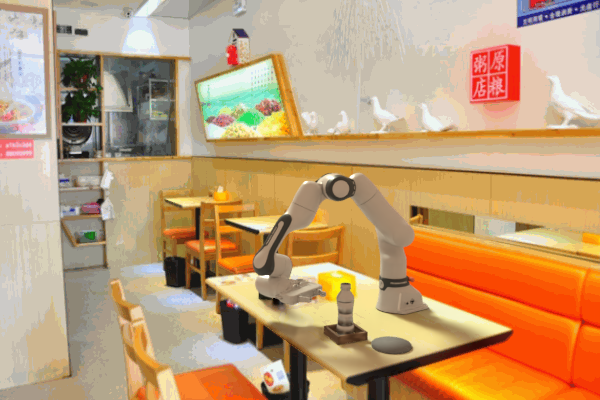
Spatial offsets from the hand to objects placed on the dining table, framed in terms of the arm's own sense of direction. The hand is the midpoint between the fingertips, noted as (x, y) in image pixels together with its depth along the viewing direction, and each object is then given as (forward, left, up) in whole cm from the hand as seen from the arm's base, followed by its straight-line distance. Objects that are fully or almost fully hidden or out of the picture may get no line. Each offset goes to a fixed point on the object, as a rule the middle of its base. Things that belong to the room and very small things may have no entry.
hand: (317, 297), depth 204 cm
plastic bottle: (-6, +11, -13) cm, 18 cm away
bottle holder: (-6, +11, -13) cm, 18 cm away
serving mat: (-17, +25, -13) cm, 33 cm away
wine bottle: (+5, -46, -13) cm, 48 cm away
